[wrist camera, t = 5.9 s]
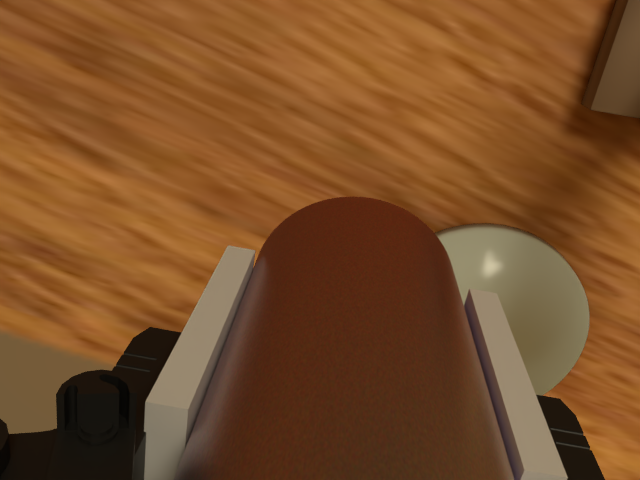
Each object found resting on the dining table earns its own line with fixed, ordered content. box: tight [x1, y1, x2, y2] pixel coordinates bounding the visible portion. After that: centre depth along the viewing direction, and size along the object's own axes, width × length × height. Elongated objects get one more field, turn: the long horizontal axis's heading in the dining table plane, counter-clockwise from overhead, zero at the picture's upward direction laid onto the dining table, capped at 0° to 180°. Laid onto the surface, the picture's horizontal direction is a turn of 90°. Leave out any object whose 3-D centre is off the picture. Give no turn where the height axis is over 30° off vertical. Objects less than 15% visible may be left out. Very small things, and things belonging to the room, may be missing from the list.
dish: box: [435, 224, 589, 396], centre depth 37 cm, size 13×13×1 cm
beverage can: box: [174, 197, 514, 480], centre depth 12 cm, size 6×6×15 cm
